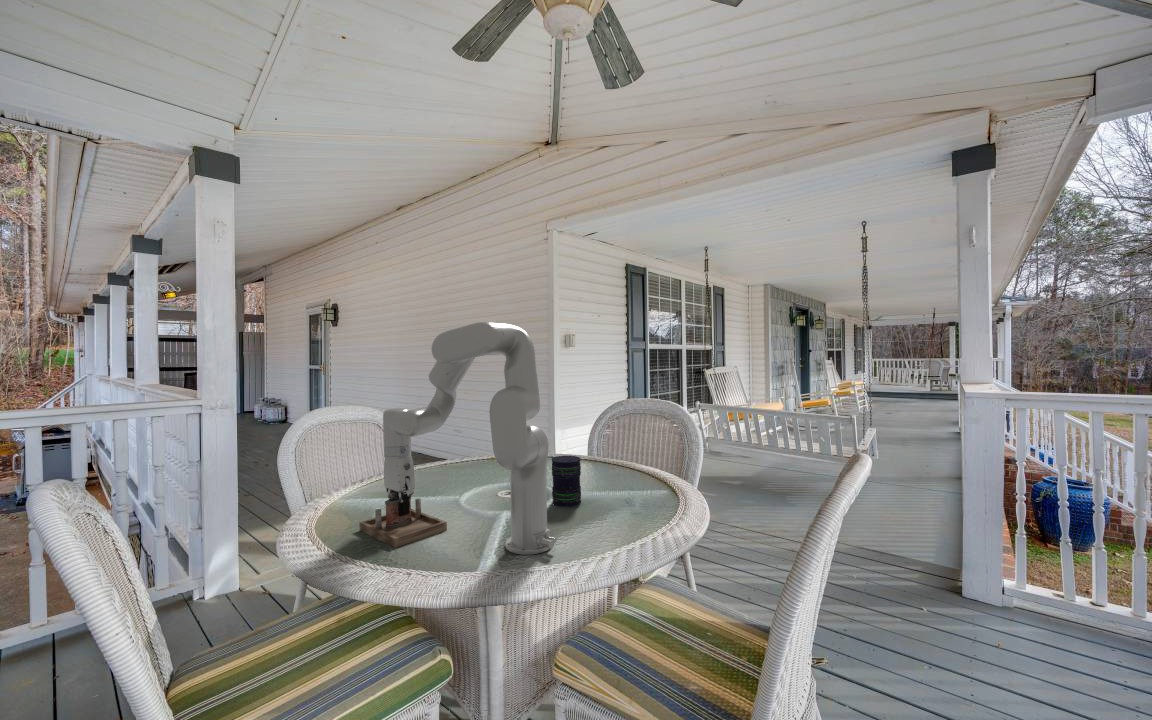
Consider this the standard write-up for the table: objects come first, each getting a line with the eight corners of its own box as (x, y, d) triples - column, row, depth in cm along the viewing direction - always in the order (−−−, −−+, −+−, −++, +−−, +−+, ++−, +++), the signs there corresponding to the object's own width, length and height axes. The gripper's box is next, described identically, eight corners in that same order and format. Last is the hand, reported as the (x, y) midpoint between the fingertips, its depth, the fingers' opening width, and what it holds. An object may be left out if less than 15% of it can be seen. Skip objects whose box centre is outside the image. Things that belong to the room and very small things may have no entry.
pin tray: (446, 530, 141) (446, 505, 141) (395, 547, 129) (394, 520, 129) (409, 515, 154) (409, 492, 154) (359, 530, 142) (359, 505, 142)
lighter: (389, 529, 139) (389, 494, 139) (383, 526, 141) (382, 492, 141) (414, 521, 145) (413, 487, 145) (407, 519, 147) (406, 486, 147)
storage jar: (547, 500, 167) (547, 457, 167) (573, 496, 171) (573, 454, 171) (559, 509, 158) (558, 463, 158) (586, 504, 162) (585, 460, 162)
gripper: (425, 452, 140) (426, 515, 140) (394, 445, 151) (396, 504, 151) (401, 457, 134) (402, 522, 134) (371, 449, 145) (372, 510, 145)
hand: (399, 512), depth 143 cm, fingers open, 4 cm apart
